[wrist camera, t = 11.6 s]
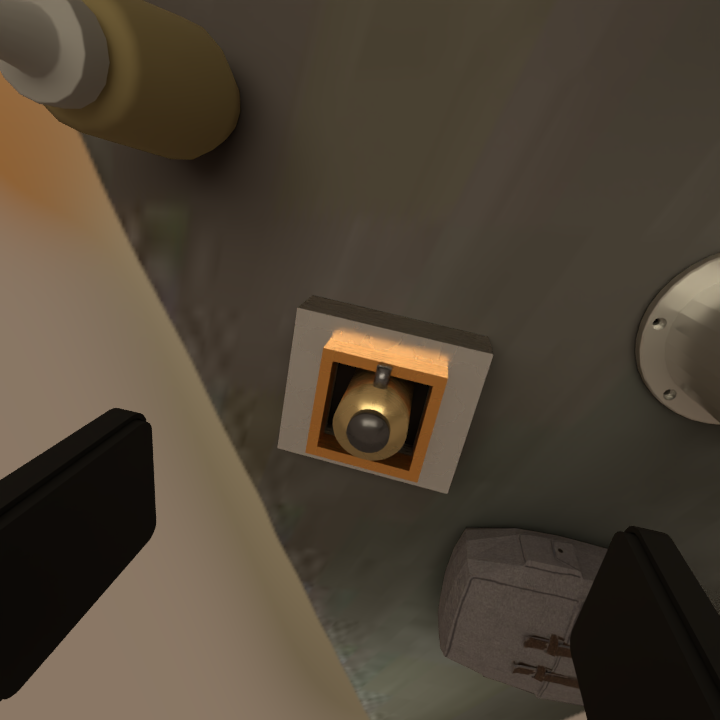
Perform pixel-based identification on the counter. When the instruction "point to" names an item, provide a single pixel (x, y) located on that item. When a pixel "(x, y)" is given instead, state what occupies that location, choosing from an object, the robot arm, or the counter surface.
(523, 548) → the grey rounded bag
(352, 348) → the orange white open box
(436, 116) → the counter surface
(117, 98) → the squeeze bottle
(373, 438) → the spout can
